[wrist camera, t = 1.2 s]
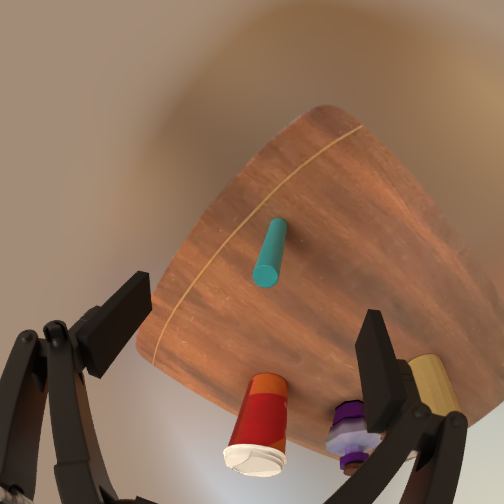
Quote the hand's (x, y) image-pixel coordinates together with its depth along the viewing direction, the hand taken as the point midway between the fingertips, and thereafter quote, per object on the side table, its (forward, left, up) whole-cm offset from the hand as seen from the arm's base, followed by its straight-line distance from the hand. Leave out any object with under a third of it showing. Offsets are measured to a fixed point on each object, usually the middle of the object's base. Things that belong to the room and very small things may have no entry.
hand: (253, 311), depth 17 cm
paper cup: (+24, +2, -15) cm, 28 cm away
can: (+18, +24, -15) cm, 34 cm away
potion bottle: (+28, +16, -15) cm, 36 cm away
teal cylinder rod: (0, 0, -15) cm, 15 cm away
